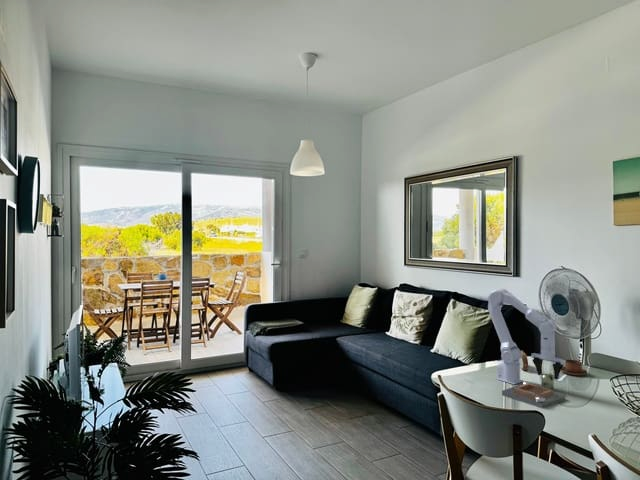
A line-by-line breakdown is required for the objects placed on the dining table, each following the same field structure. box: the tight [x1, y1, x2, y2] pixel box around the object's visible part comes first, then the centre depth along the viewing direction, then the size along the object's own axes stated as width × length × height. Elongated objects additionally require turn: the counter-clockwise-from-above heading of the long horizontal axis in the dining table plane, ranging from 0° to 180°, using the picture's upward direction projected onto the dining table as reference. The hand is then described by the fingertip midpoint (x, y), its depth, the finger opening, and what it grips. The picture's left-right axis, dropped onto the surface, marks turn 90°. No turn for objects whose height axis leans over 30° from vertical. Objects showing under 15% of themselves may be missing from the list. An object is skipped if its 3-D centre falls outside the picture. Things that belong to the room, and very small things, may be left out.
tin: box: [519, 350, 529, 371], centre depth 234 cm, size 15×3×8 cm, turn 168°
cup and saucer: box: [560, 359, 588, 376], centre depth 225 cm, size 12×12×6 cm
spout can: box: [541, 373, 555, 392], centre depth 200 cm, size 5×5×8 cm
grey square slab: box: [501, 380, 566, 409], centre depth 190 cm, size 18×18×4 cm
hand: (547, 376), depth 200 cm, fingers open, 7 cm apart
